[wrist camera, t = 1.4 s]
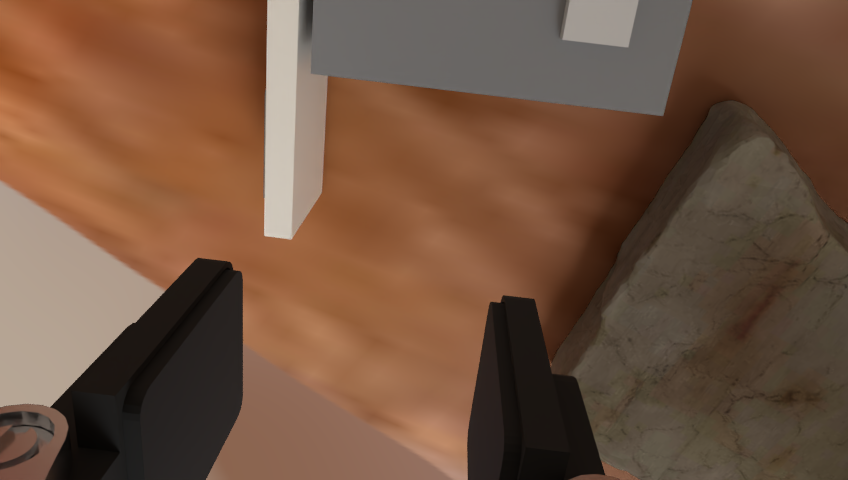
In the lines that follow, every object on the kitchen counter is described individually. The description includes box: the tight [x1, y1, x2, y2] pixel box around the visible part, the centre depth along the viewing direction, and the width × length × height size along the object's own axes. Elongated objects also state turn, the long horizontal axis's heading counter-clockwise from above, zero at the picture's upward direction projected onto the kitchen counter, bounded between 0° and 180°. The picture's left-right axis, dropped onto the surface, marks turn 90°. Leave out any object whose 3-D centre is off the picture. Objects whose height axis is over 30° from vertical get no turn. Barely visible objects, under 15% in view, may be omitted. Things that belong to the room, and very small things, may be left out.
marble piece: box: [551, 100, 848, 480], centre depth 28 cm, size 17×15×4 cm
